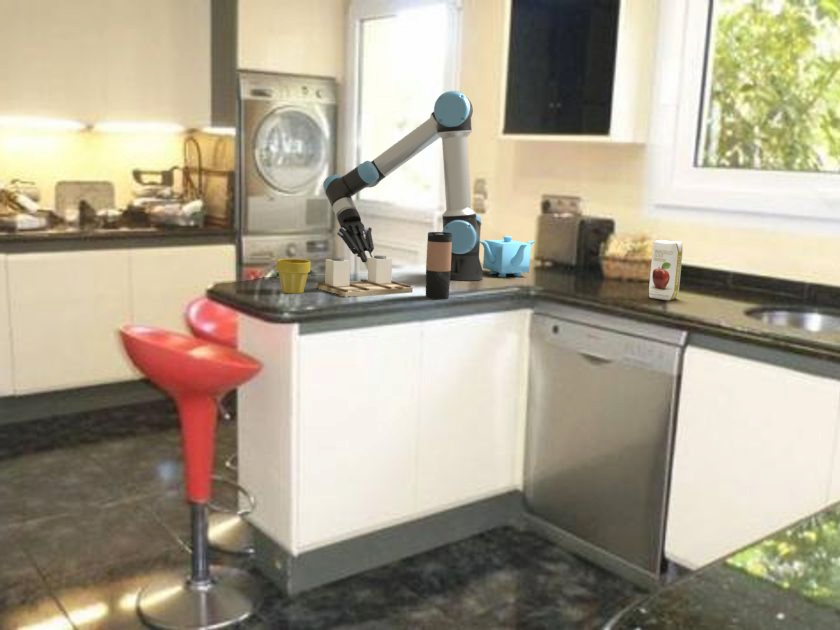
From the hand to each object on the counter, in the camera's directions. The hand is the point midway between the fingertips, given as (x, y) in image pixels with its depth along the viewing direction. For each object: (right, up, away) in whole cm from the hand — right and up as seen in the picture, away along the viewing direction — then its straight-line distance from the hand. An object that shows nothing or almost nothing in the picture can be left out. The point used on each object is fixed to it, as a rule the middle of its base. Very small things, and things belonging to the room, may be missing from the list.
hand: (371, 268), depth 277 cm
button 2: (+3, -5, -3) cm, 6 cm away
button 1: (-10, -6, -12) cm, 17 cm away
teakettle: (+49, -1, +38) cm, 62 cm away
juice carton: (+97, -10, 0) cm, 97 cm away
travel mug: (+21, -10, -17) cm, 29 cm away
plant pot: (-23, -8, -18) cm, 31 cm away
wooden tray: (-2, -7, -10) cm, 12 cm away
